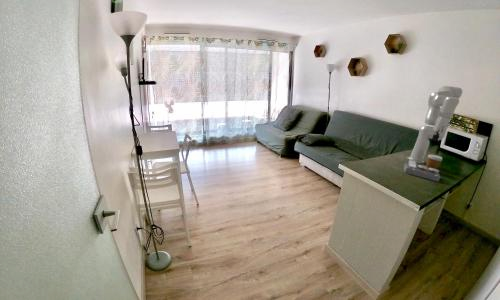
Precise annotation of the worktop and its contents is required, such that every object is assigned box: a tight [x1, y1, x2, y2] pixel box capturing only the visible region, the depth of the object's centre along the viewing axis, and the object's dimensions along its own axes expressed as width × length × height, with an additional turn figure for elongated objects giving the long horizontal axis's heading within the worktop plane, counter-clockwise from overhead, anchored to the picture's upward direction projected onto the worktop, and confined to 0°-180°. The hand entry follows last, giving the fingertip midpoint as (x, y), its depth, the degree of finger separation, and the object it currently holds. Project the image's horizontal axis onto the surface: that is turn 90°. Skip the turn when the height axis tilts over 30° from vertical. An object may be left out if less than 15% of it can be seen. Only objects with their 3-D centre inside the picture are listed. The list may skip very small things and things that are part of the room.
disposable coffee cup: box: [425, 153, 443, 170], centre depth 183 cm, size 10×10×12 cm
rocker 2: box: [417, 164, 428, 169], centre depth 172 cm, size 9×4×1 cm, turn 153°
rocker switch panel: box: [403, 162, 442, 182], centre depth 175 cm, size 18×21×4 cm
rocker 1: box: [408, 159, 417, 169], centre depth 175 cm, size 9×4×1 cm, turn 150°
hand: (434, 140), depth 164 cm, fingers closed
